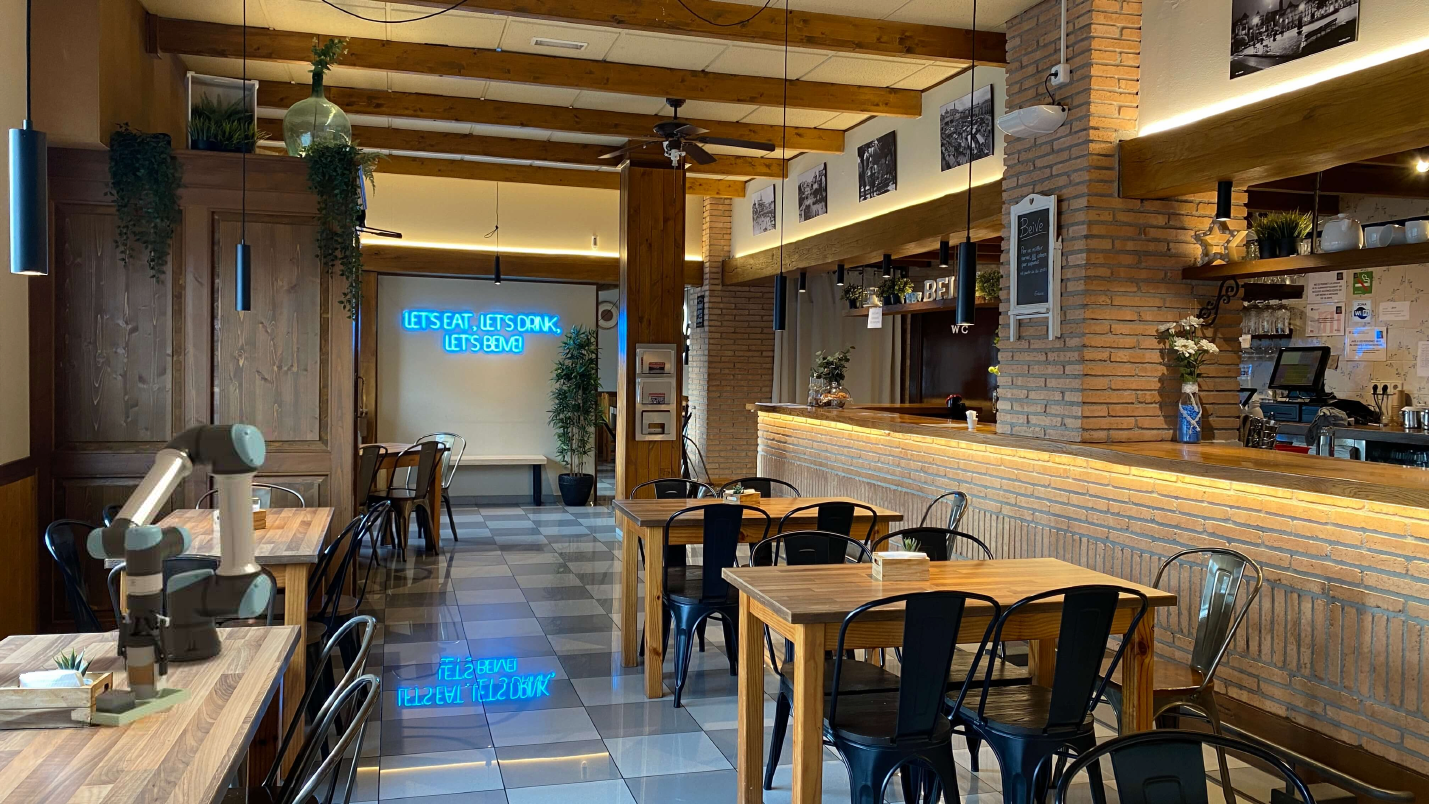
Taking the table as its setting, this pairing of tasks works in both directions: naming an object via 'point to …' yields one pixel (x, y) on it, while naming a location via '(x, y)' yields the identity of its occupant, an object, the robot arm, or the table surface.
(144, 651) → the coffee cup
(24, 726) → the table surface
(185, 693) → the green tray
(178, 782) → the table surface
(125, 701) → the cube
